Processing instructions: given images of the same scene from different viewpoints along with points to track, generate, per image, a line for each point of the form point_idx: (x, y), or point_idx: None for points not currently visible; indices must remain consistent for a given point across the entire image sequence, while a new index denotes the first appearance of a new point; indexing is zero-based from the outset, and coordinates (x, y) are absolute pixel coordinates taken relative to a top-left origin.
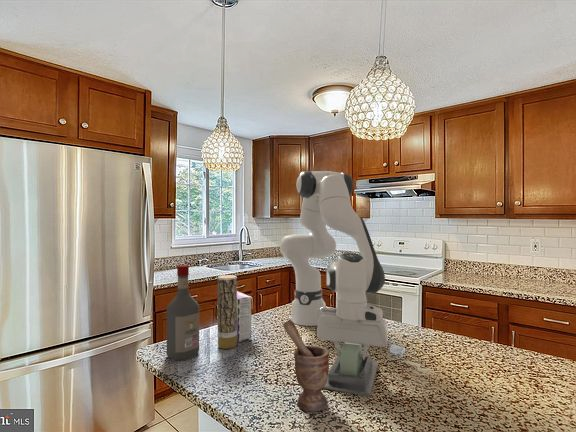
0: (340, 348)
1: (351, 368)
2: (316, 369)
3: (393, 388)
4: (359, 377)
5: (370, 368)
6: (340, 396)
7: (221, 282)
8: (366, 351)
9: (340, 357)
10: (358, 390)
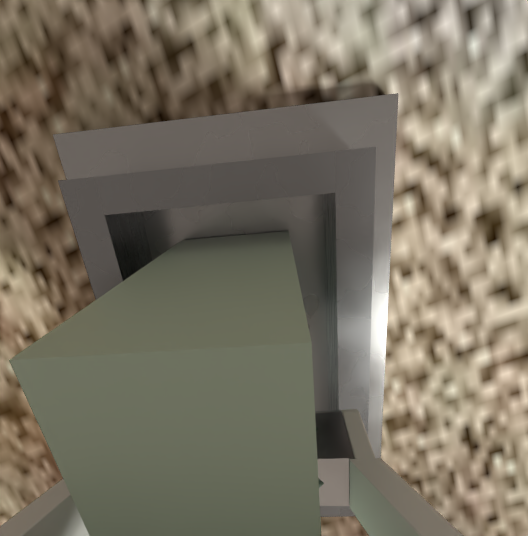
0: (356, 502)
1: (186, 264)
2: None
3: (10, 292)
4: (114, 204)
5: None
6: (234, 46)
7: None
8: (35, 501)
9: (294, 289)
10: (133, 142)
